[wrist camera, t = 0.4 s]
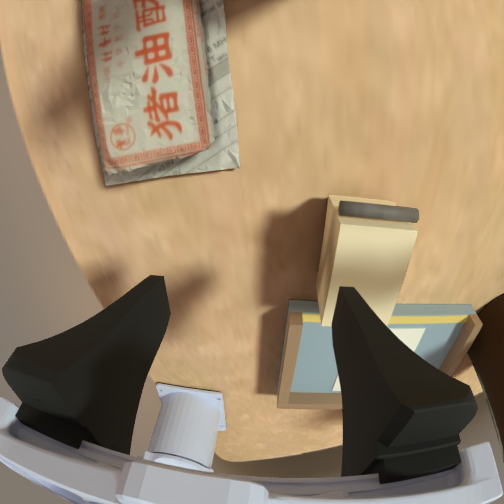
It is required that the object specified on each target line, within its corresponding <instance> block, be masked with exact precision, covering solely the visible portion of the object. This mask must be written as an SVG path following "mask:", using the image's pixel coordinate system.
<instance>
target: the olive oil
mask: <svg viewBox="0 0 504 504" xmlns="http://www.w3.org/2000/svg"><path fill="white" fill-rule="evenodd" d="M478 317H479V319H480V320H481V322H482V324H483V325H482V327H481V329H480V331H479V333H478V334H477V336H476V338H475V340H474V341H473V343H472V345H471V347H470V348H469V350H468V355H469V357H470V359H471V361H472V364H473V366H474V368H475V371H476V373H477V376H478V379H479V381H480V384H481V387H482V389H483V392H484V395H485V398H486V401H487V404H488V407H489V410H490V413H491V416H492V419H493V423H494V426H495V429H496V433H497V437H498V441H499V445H500V449H501V453H502V457H503V461H504V294H503V295H501V296H499V297H498V298H496V299H495V300H493V301H492V302H491V303H490V304H488V305H487V306H486V307H485V308H484V309H483V310H482V311H481V312H480V313H479V314H478Z"/></svg>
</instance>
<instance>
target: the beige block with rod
mask: <svg viewBox="0 0 504 504" xmlns="http://www.w3.org/2000/svg"><path fill="white" fill-rule="evenodd" d="M418 219H419V211H418V209H416V208H408V207H400V206H397V205H396V204H395V203H394V202H393V201H387V200H378V199H369V198H359V197H349V196H338V195H329V197H328V201H327V213H326V221H325V228H324V236H323V243H322V249H321V256H320V263H319V267H318V270H317V271H318V275H317V281H316V289H317V296H318V304H319V312H320V320H321V326H332V325H331V324H332V319H333V315H334V310H335V306H336V301H337V296H338V291H339V286H345V287H355V289H356V290H357V291H358V292H359V294H360V295H361V296H362V297H363V299H364V300H365V301H366V302H367V304H368V305H369V306H370V307H371V309H372V310H373V311H374V312H375V314H376V315H377V316H378V317H379V318H380V319H381V321H382V322H383V323H384V324H385V325H386V326H388V323H389V321H390V318H391V315H392V313H393V310H394V307H395V304H396V302H397V299H398V296H399V293H400V290H401V287H402V284H403V281H404V278H405V275H406V271H407V268H408V265H409V262H410V258H411V255H412V251H413V248H414V244H415V241H416V237H417V233H418V230H417V229H416V228H415V227H414V225H413V224H412V223H417V221H418ZM411 222H412V223H411Z"/></svg>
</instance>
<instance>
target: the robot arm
mask: <svg viewBox="0 0 504 504" xmlns="http://www.w3.org/2000/svg"><path fill="white" fill-rule="evenodd" d="M170 314H171V313H170V308H169V303H168V298H167V292H166V287H165V281H164V276H155V275H150V276H149V277H147V278H146V279H144V280H143V281H142V282H140V283H139V284H138V285H136V286H135V287H134V288H132V289H131V290H130V291H129V292H127V293H126V294H125V295H123V296H122V297H121V298H119V299H118V300H117V301H115V302H114V303H112V304H111V305H109V306H108V307H107V308H105V309H104V310H102V311H101V312H99V313H98V314H96V315H95V316H94V317H91V318H90V319H88V320H86V321H85V322H83V323H81V324H79V325H77V326H75V327H73V328H71V329H69V330H67V331H65V332H63V333H60V334H58V335H55V336H53V337H50V338H48V339H45V340H42V341H39V342H36V343H32V344H28V345H25V346H21V347H17V348H16V349H15V351H14V352H13V354H12V355H11V356H10V358H9V359H8V361H7V362H6V364H5V365H4V367H3V368H2V372H3V376H4V377H5V379H6V381H7V383H8V384H9V386H10V387H11V388H12V390H13V391H14V392H15V393H16V395H17V396H18V397H19V398H20V400H21V401H22V402H23V403H22V404H21V406H20V408H19V407H18V406H17V405H16V404H14V403H13V402H11V401H8V400H7V399H5V398H3V397H1V396H0V461H1V462H3V463H4V464H5V465H6V466H8V467H10V468H11V469H12V470H14V471H16V472H18V473H19V474H20V475H22V476H24V477H25V478H27V479H29V480H30V481H32V482H34V483H36V484H37V485H39V486H41V487H43V488H44V489H46V490H48V491H50V492H52V493H54V494H55V495H58V496H59V497H61V498H63V499H65V500H68V501H69V502H71V503H74V504H489V503H491V502H492V501H494V500H496V499H497V498H499V497H500V496H502V495H503V491H502V487H501V483H500V478H499V475H498V471H497V467H496V463H495V460H494V456H493V453H492V449H491V446H490V443H489V442H484V443H481V444H477V445H474V446H470V447H468V448H465V449H463V450H461V451H458V447H457V445H458V444H459V443H460V441H461V440H460V437H459V433H460V432H461V431H462V430H463V429H464V428H465V427H466V425H467V424H468V423H469V422H470V421H471V420H472V419H473V417H474V416H475V414H476V412H477V409H478V407H477V404H476V401H475V398H474V396H473V393H472V391H471V388H470V386H469V385H467V384H465V383H463V382H461V381H459V380H457V379H455V378H453V377H451V376H449V375H447V374H445V373H444V372H442V371H440V370H439V369H437V368H436V367H434V366H433V365H431V364H430V363H428V362H427V361H425V360H424V359H423V358H421V357H420V356H419V355H417V354H416V353H415V352H414V351H412V350H411V349H410V348H409V347H408V346H407V345H405V344H404V343H403V342H402V341H401V340H400V339H399V338H398V337H397V336H396V335H395V334H394V333H393V332H392V331H391V330H390V329H389V328H388V327H387V326H386V325H385V324H384V323H383V322H382V321H381V319H380V318H379V317H378V316H377V315H376V314H375V312H374V311H373V310H372V309H371V307H370V306H369V305H368V304H367V302H366V301H365V300H364V299H363V297H362V296H361V295H360V294H359V292H358V291H357V290H356V289H355V287H345V286H339V291H338V296H337V301H336V306H335V310H334V315H333V319H332V324H331V325H332V341H333V349H334V355H335V360H336V366H337V371H338V376H339V382H340V388H341V395H342V412H343V455H342V473H341V477H332V478H267V477H252V476H239V475H229V474H221V473H214V472H213V469H211V465H212V461H213V455H214V450H215V444H216V439H217V433H218V430H219V431H225V430H226V422H225V412H224V401H223V394H222V393H220V392H214V391H206V390H199V389H192V388H185V387H178V386H172V385H167V384H161V383H157V384H156V389H157V392H158V394H159V397H160V400H161V403H162V407H161V410H160V413H159V416H158V419H157V422H156V426H155V429H154V432H153V435H152V438H151V441H150V444H149V448H148V451H145V454H144V457H141V456H137V457H134V456H130V448H131V441H132V435H133V429H134V424H135V419H136V414H137V410H138V406H139V401H140V398H141V394H142V390H143V387H144V383H145V380H146V377H147V375H148V372H149V370H150V367H151V365H152V363H153V360H154V358H155V356H156V353H157V351H158V349H159V347H160V344H161V342H162V340H163V337H164V335H165V332H166V328H167V325H168V321H169V318H170Z"/></svg>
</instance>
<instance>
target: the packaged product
mask: <svg viewBox="0 0 504 504" xmlns="http://www.w3.org/2000/svg"><path fill="white" fill-rule="evenodd" d="M81 2H82V24H83V30H82V32H83V43H84V59H85V64H86V77H87V83H88V91H89V99H90V105H91V108H92V118H93V126H94V132H95V137H96V142H97V148H98V152H99V156H100V163H101V165H102V170H103V174H104V180H105V184H106V186H109V185H115V184H122V183H127V182H132V181H140V180H146V179H153V178H160V177H167V176H174V175H180V174H188V173H198V172H207V171H215V170H223V169H233V168H240V160H239V147H238V133H237V121H236V108H235V102H234V96H233V90H232V82H231V74H230V65H229V57H228V48H227V41H226V17H225V12H224V3H223V0H81Z"/></svg>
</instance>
